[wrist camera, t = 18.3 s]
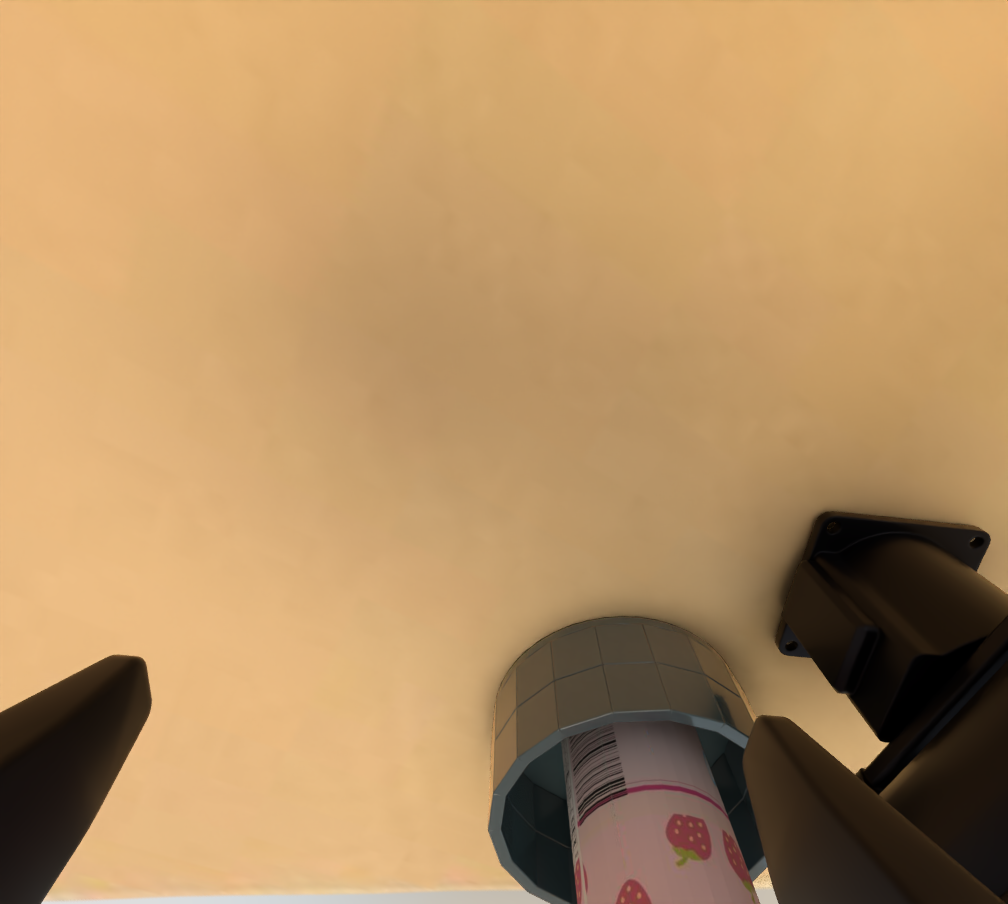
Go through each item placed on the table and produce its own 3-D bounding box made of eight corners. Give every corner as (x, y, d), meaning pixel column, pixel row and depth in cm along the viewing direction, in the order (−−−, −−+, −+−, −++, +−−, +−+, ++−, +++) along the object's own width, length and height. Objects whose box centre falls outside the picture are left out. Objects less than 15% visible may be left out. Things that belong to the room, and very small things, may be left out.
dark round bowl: (769, 628, 23) (834, 725, 19) (706, 814, 27) (746, 933, 23) (507, 602, 23) (506, 694, 18) (482, 793, 27) (476, 909, 22)
